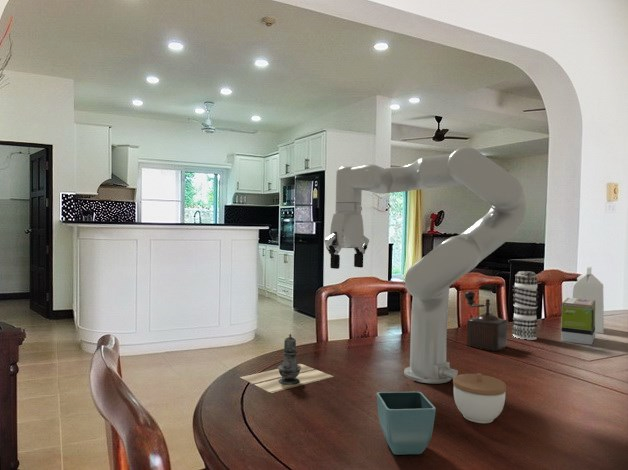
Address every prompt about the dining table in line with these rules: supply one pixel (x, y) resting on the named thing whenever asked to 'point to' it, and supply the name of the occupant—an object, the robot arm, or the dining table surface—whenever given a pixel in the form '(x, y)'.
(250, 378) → the floor strip
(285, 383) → the salt shaker
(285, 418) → the dining table surface
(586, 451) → the dining table surface
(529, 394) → the dining table surface
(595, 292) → the milk
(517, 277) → the decorative candle
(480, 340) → the dark brown coffee grinder
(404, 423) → the flower pot
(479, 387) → the lidded jar
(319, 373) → the plank
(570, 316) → the tea box
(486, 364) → the dining table surface
